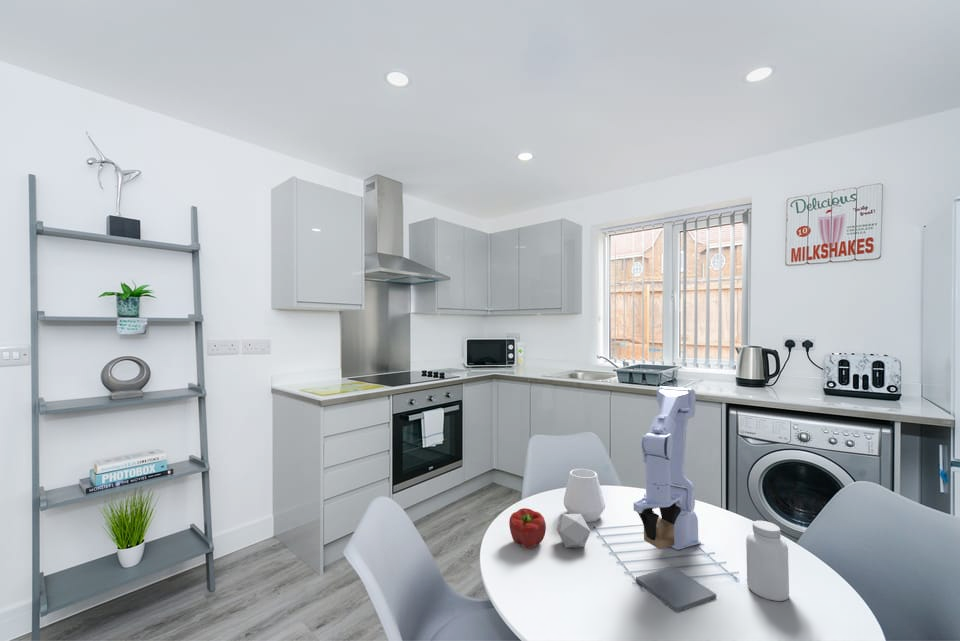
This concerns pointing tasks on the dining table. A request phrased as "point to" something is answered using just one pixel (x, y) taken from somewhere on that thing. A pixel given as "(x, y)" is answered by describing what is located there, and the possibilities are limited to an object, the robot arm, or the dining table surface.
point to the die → (573, 530)
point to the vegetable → (527, 527)
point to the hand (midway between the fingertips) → (659, 536)
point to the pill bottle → (767, 562)
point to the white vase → (584, 495)
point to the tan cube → (662, 534)
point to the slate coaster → (675, 588)
